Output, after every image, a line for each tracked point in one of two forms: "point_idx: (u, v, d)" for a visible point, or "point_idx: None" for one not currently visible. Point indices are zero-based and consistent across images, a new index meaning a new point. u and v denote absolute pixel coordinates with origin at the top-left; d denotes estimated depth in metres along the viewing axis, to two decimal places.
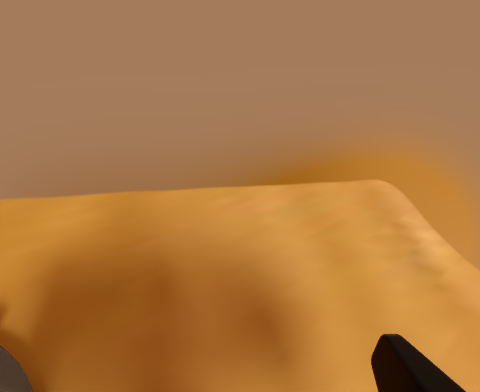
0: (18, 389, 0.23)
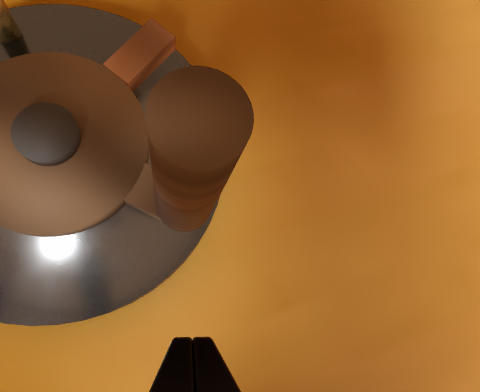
0: None
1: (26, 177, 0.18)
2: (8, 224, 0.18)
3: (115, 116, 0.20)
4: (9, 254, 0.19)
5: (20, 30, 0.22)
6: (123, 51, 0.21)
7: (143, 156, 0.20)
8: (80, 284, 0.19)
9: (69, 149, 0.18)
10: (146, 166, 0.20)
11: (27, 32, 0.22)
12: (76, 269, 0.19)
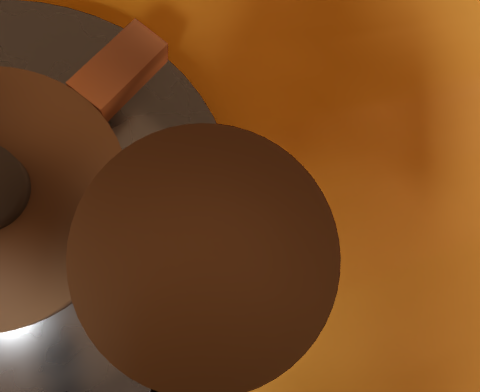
0: None
1: None
2: None
3: (82, 157, 0.14)
4: None
5: None
6: (95, 64, 0.15)
7: None
8: None
9: (10, 210, 0.12)
10: None
11: None
12: (24, 379, 0.13)
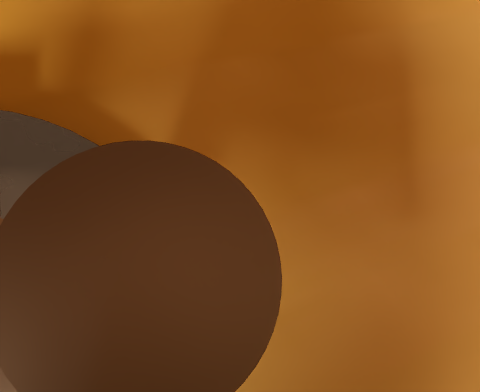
0: None
1: None
2: None
3: None
4: None
5: None
6: None
7: None
8: None
9: None
10: None
11: None
12: None
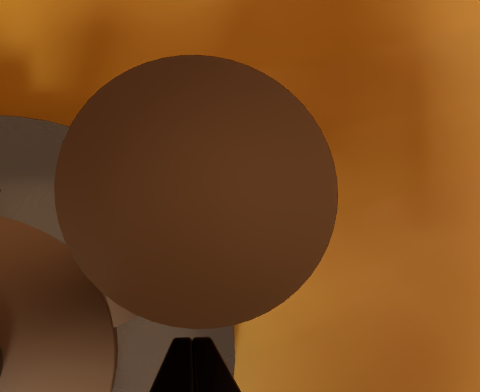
0: None
1: None
2: None
3: None
4: None
5: None
6: None
7: (77, 265, 0.13)
8: None
9: None
10: None
11: None
12: None
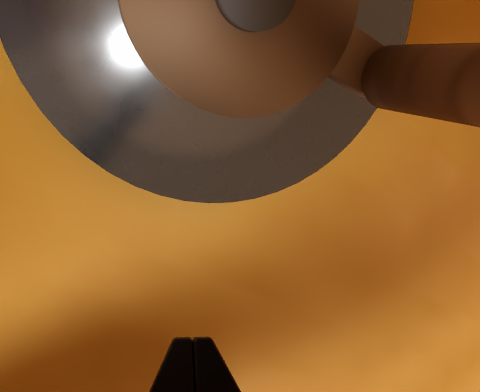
0: (363, 109, 0.19)
1: (229, 48, 0.15)
2: (216, 109, 0.15)
3: None
4: (101, 49, 0.15)
5: None
6: None
7: (353, 15, 0.16)
8: (136, 140, 0.16)
9: (288, 13, 0.14)
10: (355, 29, 0.16)
11: None
12: (145, 124, 0.16)
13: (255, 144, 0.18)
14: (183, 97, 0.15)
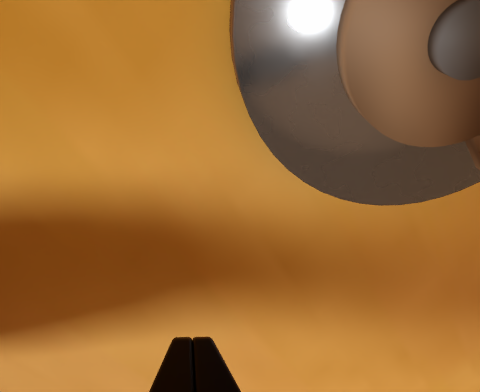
0: (468, 177, 0.21)
1: (414, 74, 0.16)
2: (370, 117, 0.16)
3: None
4: (310, 14, 0.16)
5: None
6: None
7: None
8: (286, 102, 0.17)
9: None
10: None
11: None
12: (301, 93, 0.17)
13: (370, 157, 0.19)
14: (353, 93, 0.16)
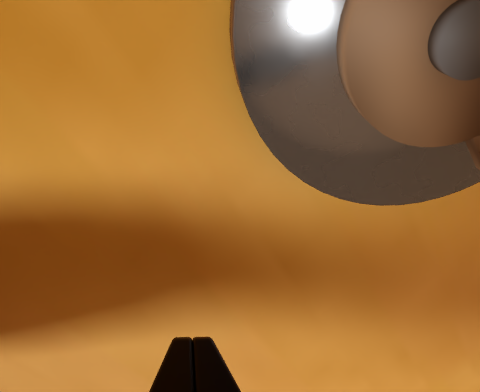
0: (468, 177, 0.21)
1: (414, 74, 0.16)
2: (370, 117, 0.16)
3: None
4: (310, 14, 0.16)
5: None
6: None
7: None
8: (286, 102, 0.17)
9: None
10: None
11: None
12: (301, 93, 0.17)
13: (370, 157, 0.19)
14: (353, 93, 0.16)
